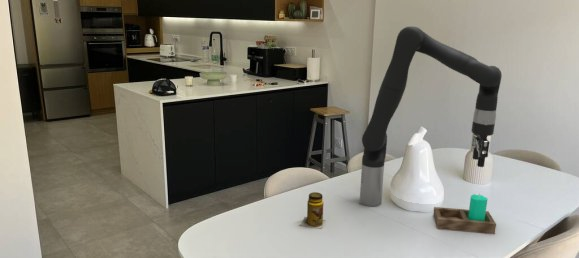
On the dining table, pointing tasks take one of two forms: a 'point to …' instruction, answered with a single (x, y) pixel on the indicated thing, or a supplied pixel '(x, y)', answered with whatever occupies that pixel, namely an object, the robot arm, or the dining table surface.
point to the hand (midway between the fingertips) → (477, 162)
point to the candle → (477, 208)
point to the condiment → (314, 211)
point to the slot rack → (462, 221)
